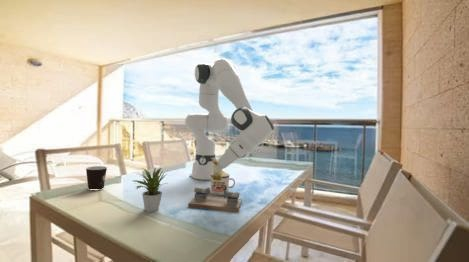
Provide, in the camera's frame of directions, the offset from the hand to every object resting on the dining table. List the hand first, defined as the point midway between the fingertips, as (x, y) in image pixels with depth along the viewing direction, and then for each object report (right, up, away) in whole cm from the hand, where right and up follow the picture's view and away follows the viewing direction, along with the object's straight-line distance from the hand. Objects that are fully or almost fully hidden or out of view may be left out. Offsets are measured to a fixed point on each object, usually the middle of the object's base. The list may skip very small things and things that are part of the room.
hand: (216, 169), depth 104 cm
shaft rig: (0, -15, 0) cm, 15 cm away
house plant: (-24, -14, -7) cm, 29 cm away
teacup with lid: (+2, -14, +18) cm, 23 cm away
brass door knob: (0, -5, 0) cm, 5 cm away
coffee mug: (-57, -12, +16) cm, 61 cm away
